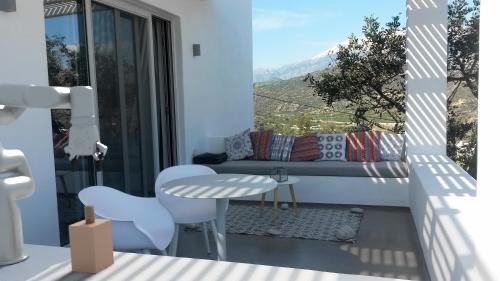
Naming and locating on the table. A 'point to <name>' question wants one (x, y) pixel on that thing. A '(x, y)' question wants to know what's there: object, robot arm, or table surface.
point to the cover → (91, 243)
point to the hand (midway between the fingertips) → (86, 171)
